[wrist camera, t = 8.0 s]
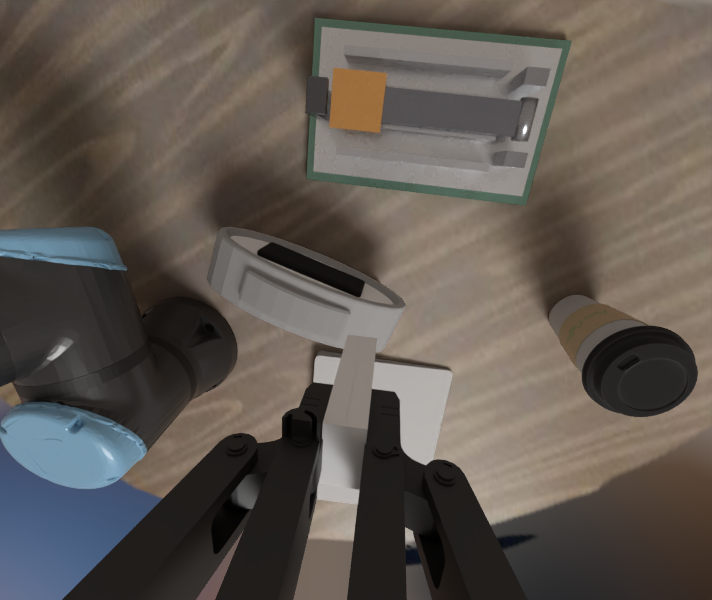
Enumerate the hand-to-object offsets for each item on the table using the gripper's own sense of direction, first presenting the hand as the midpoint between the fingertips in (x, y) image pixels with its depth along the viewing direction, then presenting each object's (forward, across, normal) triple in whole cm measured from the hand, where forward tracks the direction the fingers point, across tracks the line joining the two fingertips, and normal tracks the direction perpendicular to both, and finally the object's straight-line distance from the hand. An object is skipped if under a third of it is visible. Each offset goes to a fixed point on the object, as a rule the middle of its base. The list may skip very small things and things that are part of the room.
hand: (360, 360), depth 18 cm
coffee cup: (+29, +26, -7) cm, 40 cm away
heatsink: (+29, +4, +15) cm, 33 cm away
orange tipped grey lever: (+24, +4, +15) cm, 28 cm away
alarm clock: (+30, -8, -5) cm, 31 cm away
